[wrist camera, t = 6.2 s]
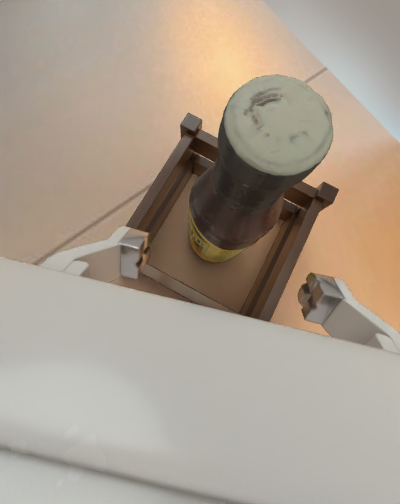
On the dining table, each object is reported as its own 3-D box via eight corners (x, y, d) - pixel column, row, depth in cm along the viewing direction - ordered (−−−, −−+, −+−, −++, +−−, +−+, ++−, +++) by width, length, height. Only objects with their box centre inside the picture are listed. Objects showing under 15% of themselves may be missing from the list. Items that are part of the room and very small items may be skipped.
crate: (120, 267, 26) (94, 256, 19) (188, 157, 29) (188, 112, 22) (244, 335, 26) (267, 352, 18) (300, 216, 29) (339, 189, 21)
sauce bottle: (191, 212, 28) (197, 22, 8) (241, 217, 28) (361, 42, 9) (186, 265, 27) (180, 184, 7) (238, 269, 27) (371, 203, 7)
